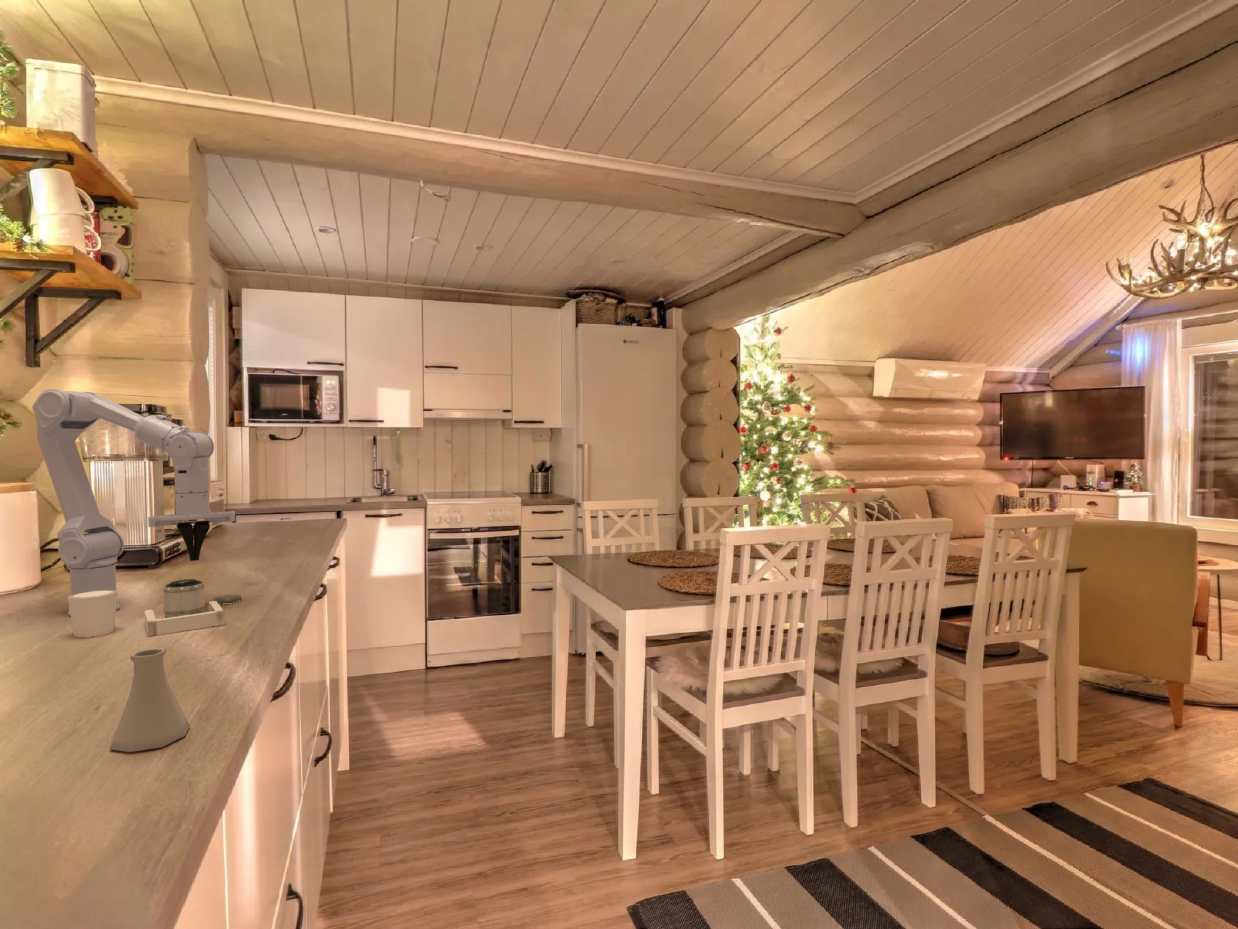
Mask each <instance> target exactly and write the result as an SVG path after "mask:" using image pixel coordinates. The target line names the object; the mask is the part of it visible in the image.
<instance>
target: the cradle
mask: <svg viewBox="0 0 1238 929" xmlns="http://www.w3.org/2000/svg"><path fill="white" fill-rule="evenodd" d="M144 625H145V630H146V633H147V636H148V637H154V636H159V635H160V636H161V635H168V634H173V633H174V634H175V633H181V632H187V631H192V630H193V631H194V630H200V629H206V628H213V627H212V626H214V627H219V626H220V627H221V626H225V611H224V610H223V608H222V607H221V605H219V604H218V603H217V601H214V600H212V601H208V611H205V613H199V614H192V615H185V616H178V617H171V618H165V617H164V618H157V619H156V615H155V613H154V610H153V609H146V610H144Z"/></svg>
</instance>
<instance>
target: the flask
mask: <svg viewBox="0 0 1238 929" xmlns="http://www.w3.org/2000/svg"><path fill="white" fill-rule="evenodd" d="M166 653H167V648H163V647H162V648H161V647H155V648H153V647H152V648H145V649H140V650H138V651H135V652H133V653H132V654H131V655H130V657H129V658H130V661H132V662H133V678H132V683H131V688H130V692H129V695H128V698H127V701H126V703H125V705H124V708H123V709H124V710H123V712H122V715H121V718H120V720H119V723H118V724H117V727H116V730H115V732H114V736H113V738H112V741H111V743H110V745H109V750H112V751H118V752H126V753H135V752H139V751H145V750H152V749H158V748H163V747H165V746H167V745H169V744H172V743H174V742H175V741H177V740H180V739H181V738H183V737H185V736H186V735H187V732H188V731H189V728H190V727H191V725H190V723H189V721H188V719H187V717H186V715H185V714H184V712H183V710H182V708H181V706H180V705H179V703H178V700H177V699H176V696H175V694H174V692H173V690H172V688H171V686H170V684H169V681H168V678H167V674H166V671H165V667H164V666H165V665H164V656H165V654H166Z"/></svg>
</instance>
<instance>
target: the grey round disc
mask: <svg viewBox="0 0 1238 929" xmlns="http://www.w3.org/2000/svg"><path fill="white" fill-rule="evenodd" d="M240 599H241V600H242V595H241V594H226V595H219V596H216V597H215V596H214V598H213V601H217V603H218V604H219V603H220V604H223V603H232V604H234V603H233V602H236V601H239V600H240Z"/></svg>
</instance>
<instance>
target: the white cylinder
mask: <svg viewBox="0 0 1238 929" xmlns="http://www.w3.org/2000/svg"><path fill="white" fill-rule="evenodd" d="M117 599H118V591H117V589H116V590H96V591H88V592H82V593H77V594H74V595H71V594H70V595H69V596H67V600H68V608H69V607H70V613H71V615H70V618H71V625H72V630H73V636H74V638H78V637H85V638H92V636H94V637H99V636H104V635H107V634H111V633H113V632H114V631H115V630H116V628H115V626H116V615H117V609H116V604H117Z"/></svg>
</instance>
